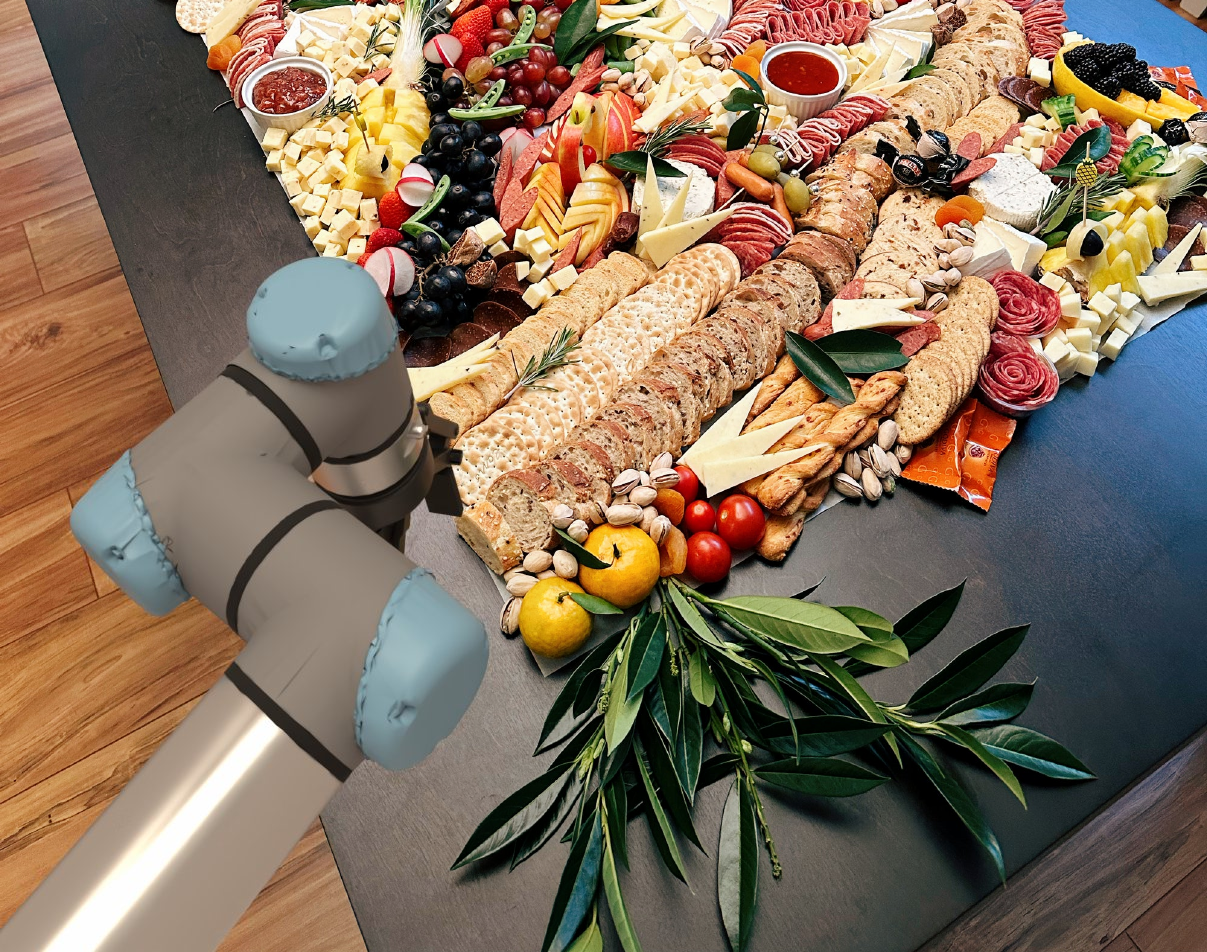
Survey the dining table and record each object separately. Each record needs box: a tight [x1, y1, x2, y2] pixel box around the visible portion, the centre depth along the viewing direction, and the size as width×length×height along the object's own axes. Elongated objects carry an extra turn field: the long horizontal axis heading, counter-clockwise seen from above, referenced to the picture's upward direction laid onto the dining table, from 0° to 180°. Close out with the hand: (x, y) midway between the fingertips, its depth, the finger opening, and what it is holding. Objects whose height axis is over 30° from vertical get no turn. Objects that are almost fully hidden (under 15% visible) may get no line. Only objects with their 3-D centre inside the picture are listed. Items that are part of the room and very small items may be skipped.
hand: (421, 592), depth 88 cm, fingers open, 13 cm apart
